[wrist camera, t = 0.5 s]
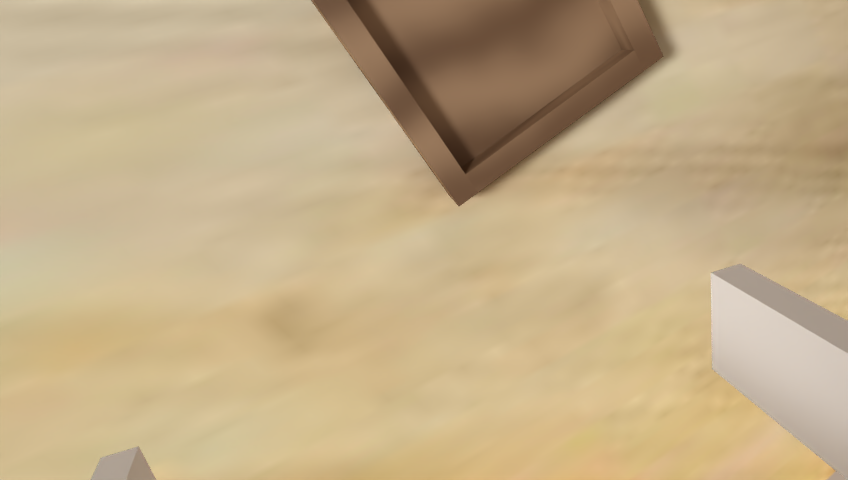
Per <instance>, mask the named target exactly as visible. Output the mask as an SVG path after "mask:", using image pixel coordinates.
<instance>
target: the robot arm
mask: <svg viewBox="0 0 848 480" xmlns="http://www.w3.org/2000/svg"><path fill="white" fill-rule="evenodd" d="M711 321H712V369H713V370H714V371H715V372H716V373H718V374H719V375H720V376H721V377H722V378H724V379H725V380H726V381H727V382H729V383H730V384H731V385H732V386H733V387H735V388H736V389H737V390H738V391H739V392H741V393H742V394H743V395H744V396H746V397H747V398H748V399H749V400H750V401H752V402H753V403H754V404H755V405H757V406H758V407H759V408H760V409H761V410H763V411H764V412H765V413H766V414H767V415H769V416H770V417H771V418H772V419H774V420H775V421H776V422H777V423H778V424H780V425H781V426H782V427H783V428H784V429H786V430H787V431H788V432H789V433H791V434H792V435H793V436H794V437H795V438H797V439H798V440H799V441H800V442H801V443H803V444H804V445H805V446H806V447H808V448H809V449H810V450H811V451H812V452H814V453H815V454H816V455H817V456H819V457H820V458H821V459H822V460H823V461H825V462H826V463H827V464H828V465H829V466H831V467H832V468H833V469H834V470H836V471H837V472H838V473H839V474H840V475H842V476H843V477H844V478H845V479H846V480H848V321H847V320H845V319H843V318H842V317H840V316H838V315H836V314H834V313H832V312H830V311H828V310H827V309H825V308H823V307H821V306H819V305H817V304H815V303H813V302H811V301H810V300H808V299H806V298H804V297H802V296H800V295H798V294H796V293H795V292H793V291H791V290H789V289H787V288H785V287H783V286H781V285H779V284H778V283H776V282H774V281H772V280H770V279H768V278H766V277H764V276H763V275H761V274H759V273H757V272H755V271H753V270H751V269H749V268H748V267H746V266H744V265H742V264H738V265H734V266H731V267H728V268H724V269H721V270H718V271H715V272H711ZM91 480H156V478H155V477H154V475H153V473H152V471H151V469H150V467H149V465H148V463H147V461H146V459H145V457H144V456H143V454H142V452H141V450H140V448H139V446H138V447H135V448H132V449H128V450H125V451H122V452H118V453H115V454H112V455H109V456H105V457H102V458H100V461H99V463H98V465H97V467H96V469H95V471H94V474H93V476H92V478H91Z"/></svg>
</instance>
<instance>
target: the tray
mask: <svg viewBox="0 0 848 480" xmlns="http://www.w3.org/2000/svg"><path fill="white" fill-rule="evenodd" d="M311 1H312V2H313V4H314V5H315V6H316V8H317V9H318V11H319V12H320V14H321V15H322V16H323V18H324V19H325V21H326V22H327V23H328V25H329V26H330V28H331V29H332V30H333V32H334V33H335V35H336V36H337V38H338V39H339V40H340V42H341V43H342V45H343V46H344V47H345V49H346V50H347V52H348V53H349V54H350V56H351V57H352V59H353V60H354V62H355V63H356V64H357V66H358V67H359V69H360V70H361V71H362V73H363V74H364V76H365V77H366V78H367V80H368V81H369V83H370V84H371V86H372V87H373V88H374V90H375V91H376V93H377V94H378V95H379V97H380V98H381V100H382V101H383V103H384V104H385V105H386V107H387V108H388V110H389V111H390V112H391V114H392V115H393V117H394V118H395V119H396V121H397V122H398V124H399V125H400V127H401V128H402V129H403V131H404V132H405V134H406V135H407V136H408V138H409V139H410V141H411V142H412V143H413V145H414V146H415V148H416V149H417V151H418V152H419V153H420V155H421V156H422V158H423V159H424V160H425V162H426V163H427V165H428V166H429V167H430V169H431V170H432V172H433V173H434V175H435V176H436V177H437V179H438V180H439V182H440V183H441V184H442V186H443V187H444V189H445V190H446V191H447V193H448V194H449V196H450V197H451V198H452V199H453V200H454V201H455V202H456V204H457V205H458V206H460V205H462V204H463V203H464V202H466V201H467V200H468V199H470V198H471V197H473V196H474V195H475V194H477V193H478V192H479V191H481V190H482V189H483V188H485V187H486V186H488V185H489V184H490V183H492V182H493V181H494V180H496V179H497V178H498V177H500V176H501V175H503V174H504V173H505V172H507V171H508V170H509V169H511V168H512V167H513V166H515V165H516V164H518V163H519V162H520V161H522V160H523V159H524V158H526V157H527V156H528V155H530V154H531V153H533V152H534V151H535V150H537V149H538V148H539V147H541V146H542V145H543V144H545V143H546V142H548V141H549V140H550V139H552V138H553V137H554V136H556V135H557V134H558V133H560V132H561V131H562V130H564V129H565V128H567V127H568V126H569V125H571V124H572V123H573V122H575V121H576V120H577V119H579V118H580V117H582V116H583V115H584V114H586V113H587V112H588V111H590V110H591V109H592V108H594V107H595V106H597V105H598V104H599V103H601V102H602V101H603V100H605V99H606V98H607V97H609V96H610V95H612V94H613V93H614V92H616V91H617V90H618V89H620V88H621V87H622V86H624V85H625V84H627V83H628V82H629V81H631V80H632V79H633V78H635V77H636V76H637V75H639V74H640V73H642V72H643V71H644V70H646V69H647V68H648V67H650V66H651V65H652V64H654V63H655V62H657V61H658V60H659V59H661V58H662V57H663V54H662V52H661V50H660V48H659V46H658V43H657V41H656V39H655V37H654V35H653V32H652V30H651V28H650V26H649V24H648V22H647V19H646V17H645V15H644V13H643V11H642V9H641V6H640V4H639V2H638V0H311Z"/></svg>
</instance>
